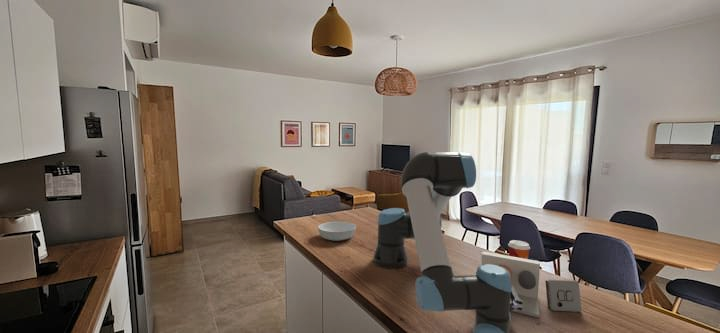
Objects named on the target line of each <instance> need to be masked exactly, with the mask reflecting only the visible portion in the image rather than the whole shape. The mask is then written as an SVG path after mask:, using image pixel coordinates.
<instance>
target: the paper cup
mask: <svg viewBox="0 0 720 333" xmlns="http://www.w3.org/2000/svg"><path fill="white" fill-rule="evenodd" d="M507 245H508V256H512V257H518V258H524V259H529V253H530V250H531V247H530V244H529V243H528V242H527V241H522V240H518V239H517V240H515V239H512V240H510V241H509V243H507ZM509 269H510V268H509Z"/></svg>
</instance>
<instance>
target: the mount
mask: <svg viewBox="0 0 720 333" xmlns="http://www.w3.org/2000/svg"><path fill="white" fill-rule="evenodd" d="M540 263H541V261H539V260H536V259H535V260H534V259H529V258H528V259H524V258H518V257H512V256H509V255H507V254H501V253H496V252H495V253H494V252H489V251H482V252H481V265H484V264H492V265H497V266H498V265H505V266H507V267H508V268H510V270H511V272H512V281H511V286H513V287H514V289H515V291H516V293H517V295H518V297H519V298H520V299H521V300H522V301H523V305H522V310H518V309H517V308H514V309H513V310H512V311H511V312H514V313H519V314H523V315H527V316H530V317H534V318H538V319H540V318H539V317H540V311H539V286H540V284H539V283H540V282H539V281H540V269H541V268H540V267H541V264H540ZM510 300H511V298H510ZM511 301H512V300H511Z"/></svg>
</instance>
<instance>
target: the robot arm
mask: <svg viewBox="0 0 720 333" xmlns="http://www.w3.org/2000/svg"><path fill="white" fill-rule="evenodd" d="M476 181H477V166H476V162H475V159H474V157H473V156H472V154H470V153H469V152H460V151H457V152H456V151H453V152H452V151H451V152H450V151H447V152H446V151H444V152H443V151H441V152H440V151H438V152H436V151H435V152H433V151H431V152H430V151H425V152H420V153H418V154H416V155H414V156H413V157H412V158H410V159H409V161H408V162H407V163H406V165H405V166H404V168H403V170H402V173H401V177H400V186H401V192H402V194H403V196H404V197H406V202H407V207H408V211H405V209H404V208H401V207H391V208H390V207H389V208H387V209H386V208H385V209H383V210H381V211H380V212H379V213H378V217H377V218H378V219H377V245H376V247H375V251H374V254H373V263H374V264H375V265H376V266H379V267H382V268H385V269H399V268H403V267H405V266H407V265H408V263H409V262H408V261H409V259H408V257H409V256H408V253H407V251H406V247H405V239H406V240H407V239H410V240H411V239H414V241H415V247H416V251H417V257H418V261H419V266H420V272H421V276H418V277H417V278H416V280H415V284H414V290H415V298H416V302H417V305H418V307H419V308H420V309H421V310H423V311H426V312H446V311H470V310H471V311H473V310H475V319H474V327H473V329H472V333H510V327H511V321H512V320H511V319H512V312H513V311H512V310H513V309H514V308H517V309H518V310H522V305H523V301H522V300H521V299H520V298H519V297H518V295H517V293H516V291H515V289H514V287H513V286H511V276H510V273H509V272H508V271H507V270H505V269H504V268H502V267H500V266H497V265H492V264H484V265H482V264H480V265H479V266H477V268H476V272H475V275H474V274H473V275H469V274H468V275H454V271H453V267H452V264H451V261H450V257H449V253H448V249H447V246H446V242H445V238H444V235H443V234H444V233H443V231H442V227H443V224H442V218H441V214H442V213H443V211H444V209H445V208H446V207H447V205H448V203H449V202H450V200H451V198H452V197H455V196H457V195H459V194H460V193H461V191H462V189H471V188H473V187H475V184H476ZM510 298H511V300H512V301H511V300H510Z"/></svg>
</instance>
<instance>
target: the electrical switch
mask: <svg viewBox="0 0 720 333" xmlns="http://www.w3.org/2000/svg"><path fill="white" fill-rule="evenodd" d="M545 290H546V302H547V306H548V307H549V308H550V310H551V311H554V312H573V313H574V312H578V313H580V312H581V311H582V302H581V292H580V285H579V281H578V280H577V281H576V280H575V279H574V280H572V279H569V280H567V279H548V280H545Z"/></svg>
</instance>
